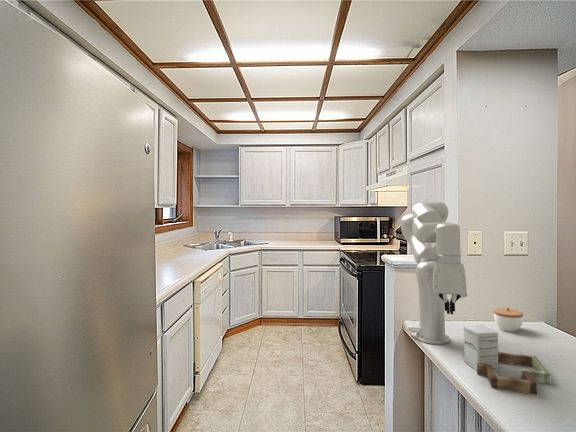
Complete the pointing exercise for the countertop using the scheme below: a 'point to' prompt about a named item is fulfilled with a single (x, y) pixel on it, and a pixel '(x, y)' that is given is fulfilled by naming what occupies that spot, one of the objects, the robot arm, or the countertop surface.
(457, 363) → the countertop surface
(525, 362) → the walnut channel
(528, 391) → the brown wooden bent piece
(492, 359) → the supplement box
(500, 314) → the lidded jar
